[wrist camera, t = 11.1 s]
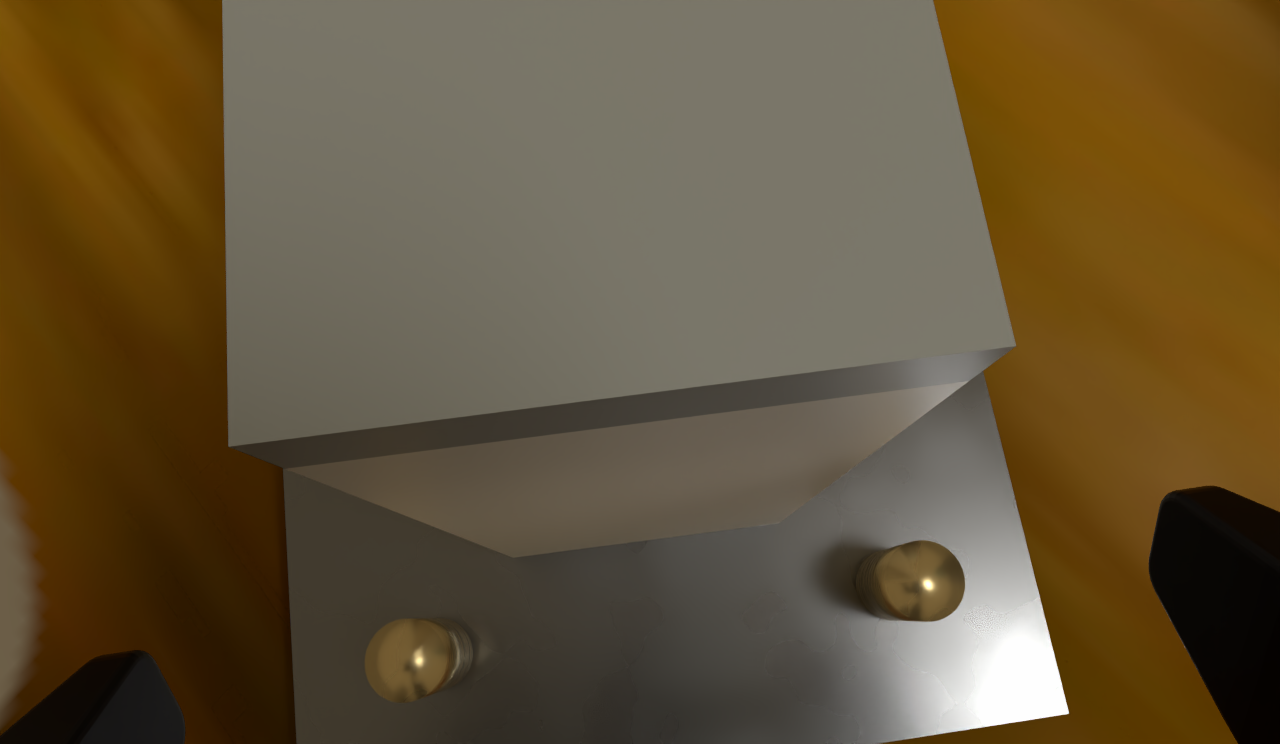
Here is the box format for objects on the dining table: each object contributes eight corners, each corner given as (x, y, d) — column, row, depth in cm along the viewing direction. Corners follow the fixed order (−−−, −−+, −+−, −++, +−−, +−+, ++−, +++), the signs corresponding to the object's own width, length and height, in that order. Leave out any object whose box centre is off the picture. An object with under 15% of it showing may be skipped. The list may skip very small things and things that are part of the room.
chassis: (1048, 708, 19) (1132, 728, 16) (319, 822, 19) (244, 869, 15) (890, 69, 23) (931, -26, 19) (283, 155, 22) (217, 74, 19)
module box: (779, 523, 19) (1015, 346, 6) (513, 557, 19) (227, 447, 6) (738, 274, 20) (867, -271, 8) (490, 305, 20) (220, -196, 8)
